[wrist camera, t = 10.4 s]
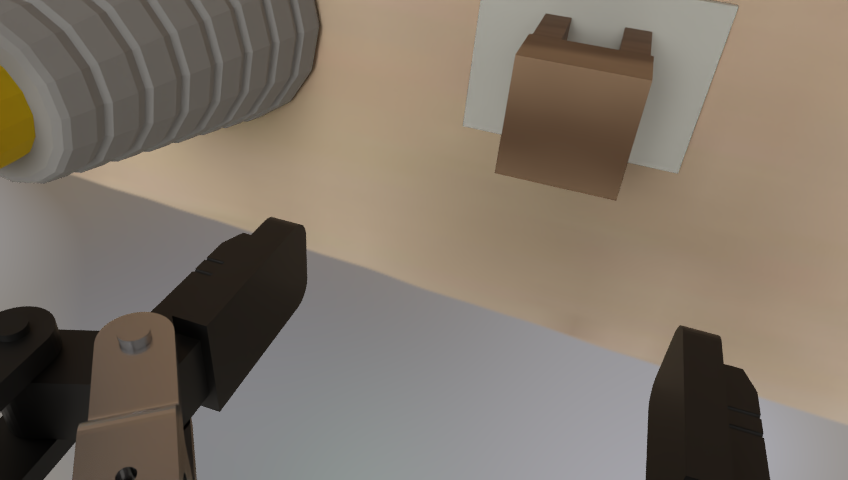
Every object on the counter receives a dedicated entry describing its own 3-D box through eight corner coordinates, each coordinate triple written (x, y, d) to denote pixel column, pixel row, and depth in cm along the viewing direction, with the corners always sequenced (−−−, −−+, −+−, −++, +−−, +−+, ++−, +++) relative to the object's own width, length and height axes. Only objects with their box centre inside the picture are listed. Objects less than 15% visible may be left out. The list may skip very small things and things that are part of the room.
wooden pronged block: (544, 10, 30) (515, 54, 24) (655, 29, 28) (652, 80, 23) (524, 112, 32) (494, 172, 27) (625, 133, 31) (616, 200, 26)
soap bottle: (357, -39, 31) (23, 112, 15) (281, 153, 39) (3, 393, 23) (138, -176, 31) (-442, -173, 15) (104, 44, 39) (-307, 206, 22)
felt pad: (487, -37, 30) (485, -36, 29) (737, 4, 27) (738, 6, 27) (464, 123, 34) (462, 125, 34) (677, 170, 32) (677, 173, 32)
